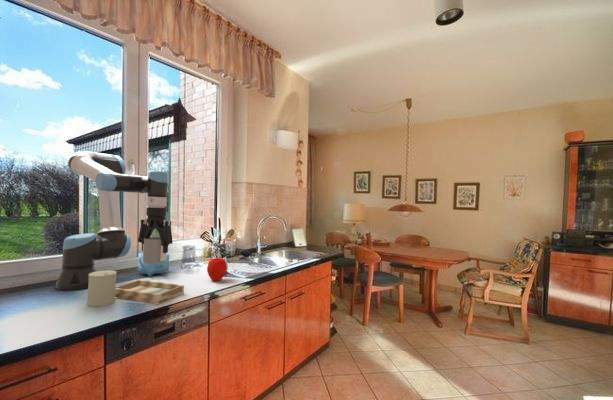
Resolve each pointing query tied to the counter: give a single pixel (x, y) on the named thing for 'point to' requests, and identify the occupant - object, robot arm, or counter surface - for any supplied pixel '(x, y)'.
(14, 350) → the counter surface
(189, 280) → the counter surface
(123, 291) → the box
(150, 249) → the cup
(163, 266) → the teapot
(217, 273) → the apple
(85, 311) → the counter surface
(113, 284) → the can
